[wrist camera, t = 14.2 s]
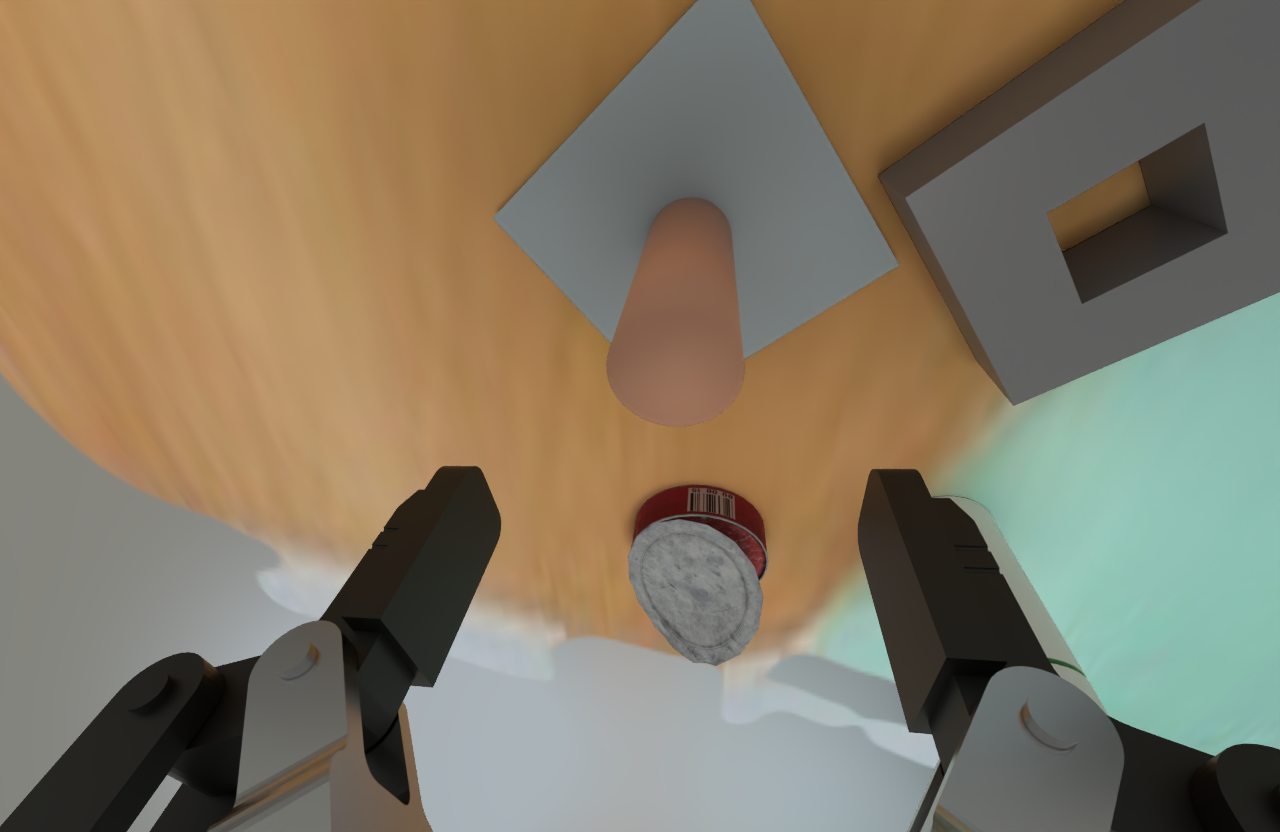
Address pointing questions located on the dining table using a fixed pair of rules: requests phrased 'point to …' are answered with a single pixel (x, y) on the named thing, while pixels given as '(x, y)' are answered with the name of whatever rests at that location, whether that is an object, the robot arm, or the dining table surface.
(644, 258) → the plug
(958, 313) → the gray square hole block
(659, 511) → the canned food
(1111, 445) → the dining table surface
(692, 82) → the mat
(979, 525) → the cylindrical container
